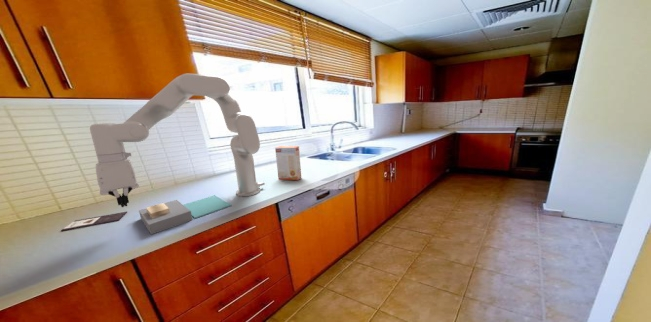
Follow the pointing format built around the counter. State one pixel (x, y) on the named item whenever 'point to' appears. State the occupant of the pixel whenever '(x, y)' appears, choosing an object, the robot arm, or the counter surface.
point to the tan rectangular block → (158, 210)
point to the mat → (206, 206)
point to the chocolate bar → (94, 221)
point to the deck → (166, 217)
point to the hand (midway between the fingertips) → (124, 205)
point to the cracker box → (288, 162)
